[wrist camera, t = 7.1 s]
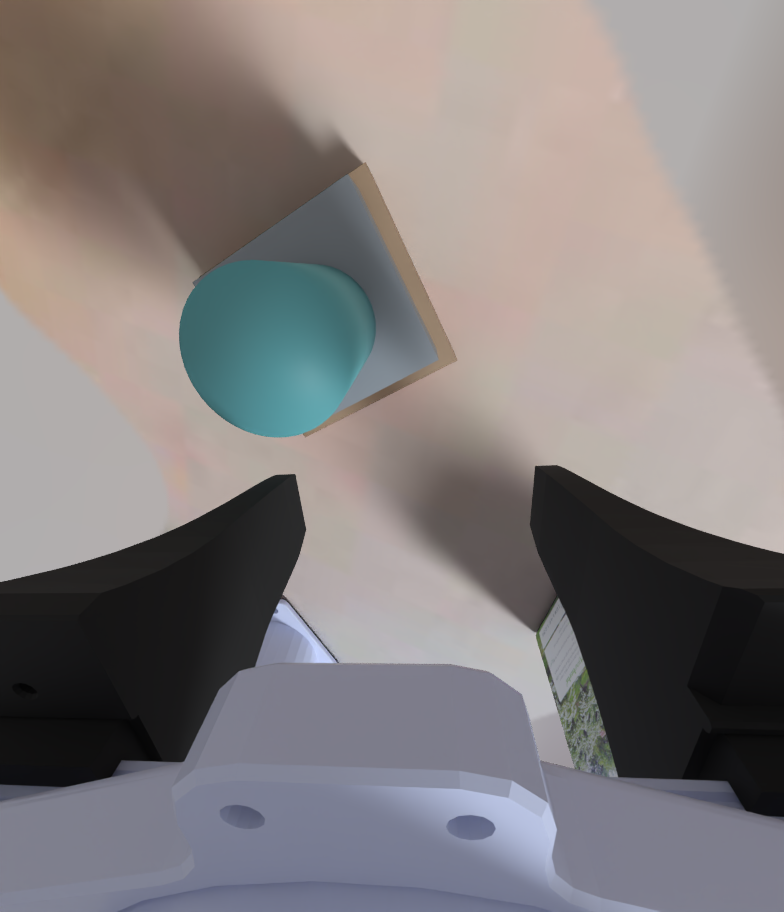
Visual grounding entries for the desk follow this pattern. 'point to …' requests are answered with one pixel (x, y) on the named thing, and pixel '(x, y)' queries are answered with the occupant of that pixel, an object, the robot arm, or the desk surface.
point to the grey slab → (365, 260)
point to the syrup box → (574, 694)
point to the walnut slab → (413, 284)
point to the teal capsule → (275, 343)
